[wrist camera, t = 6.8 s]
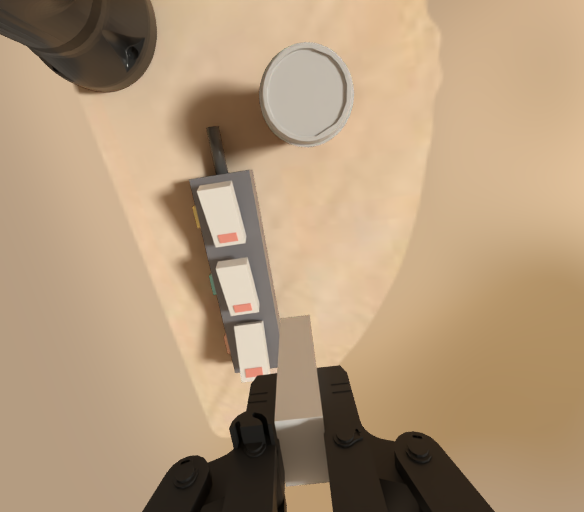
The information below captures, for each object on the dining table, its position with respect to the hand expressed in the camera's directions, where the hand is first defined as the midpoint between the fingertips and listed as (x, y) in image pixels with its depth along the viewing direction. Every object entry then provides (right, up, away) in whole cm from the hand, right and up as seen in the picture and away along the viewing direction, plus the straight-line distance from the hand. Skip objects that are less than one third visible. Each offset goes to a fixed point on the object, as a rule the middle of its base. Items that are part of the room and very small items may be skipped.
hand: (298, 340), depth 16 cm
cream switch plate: (-8, 0, +26) cm, 27 cm away
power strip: (-8, +5, +31) cm, 32 cm away
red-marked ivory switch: (-9, +10, +23) cm, 27 cm away
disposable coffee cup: (+1, +23, +25) cm, 35 cm away
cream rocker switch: (-6, -9, +29) cm, 31 cm away
